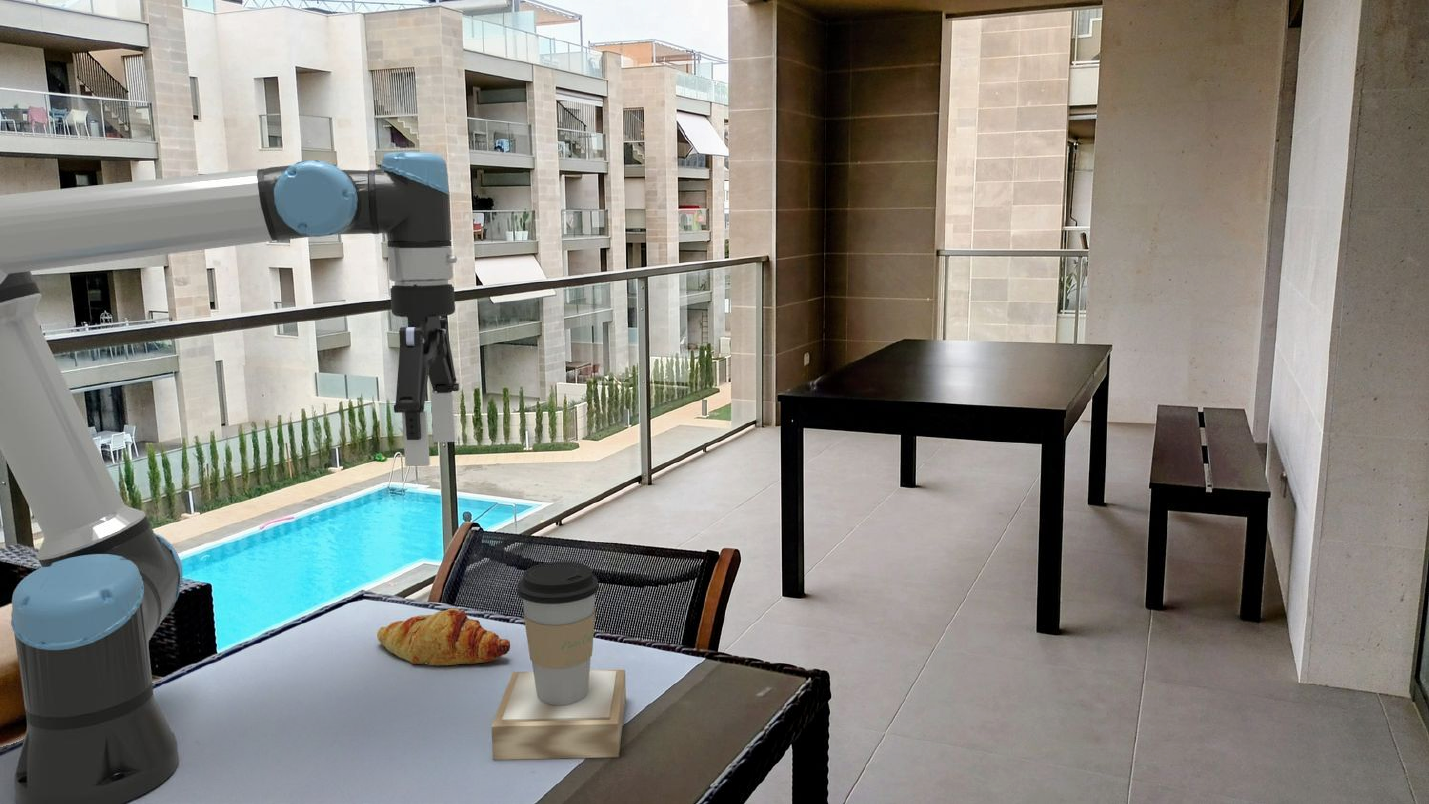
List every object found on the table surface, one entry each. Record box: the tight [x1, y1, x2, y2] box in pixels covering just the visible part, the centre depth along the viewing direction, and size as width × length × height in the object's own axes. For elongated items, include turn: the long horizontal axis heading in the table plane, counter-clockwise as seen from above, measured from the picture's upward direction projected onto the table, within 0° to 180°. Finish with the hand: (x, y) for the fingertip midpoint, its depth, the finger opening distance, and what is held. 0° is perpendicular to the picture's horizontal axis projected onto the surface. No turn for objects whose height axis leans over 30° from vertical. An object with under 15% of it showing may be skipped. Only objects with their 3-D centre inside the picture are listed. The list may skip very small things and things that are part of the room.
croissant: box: [376, 608, 511, 666], centre depth 140 cm, size 21×10×8 cm, turn 73°
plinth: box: [491, 669, 627, 761], centre depth 119 cm, size 14×14×4 cm
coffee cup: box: [516, 561, 600, 706], centre depth 118 cm, size 9×9×15 cm
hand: (431, 453), depth 127 cm, fingers open, 13 cm apart
